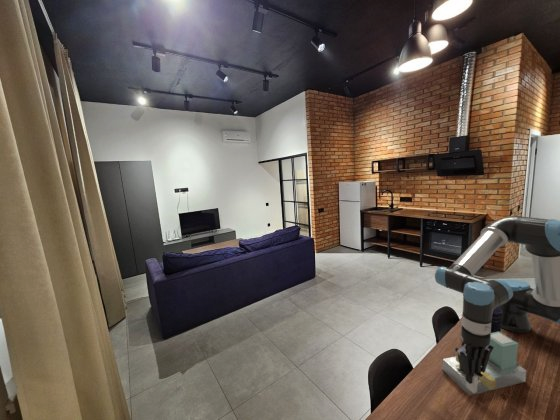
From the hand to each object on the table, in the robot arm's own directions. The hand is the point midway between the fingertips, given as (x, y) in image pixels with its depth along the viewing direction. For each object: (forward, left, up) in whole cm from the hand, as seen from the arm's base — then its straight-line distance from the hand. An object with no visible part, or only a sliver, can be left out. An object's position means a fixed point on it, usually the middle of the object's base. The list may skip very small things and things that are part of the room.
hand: (471, 389), depth 83 cm
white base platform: (-16, -9, -7) cm, 19 cm away
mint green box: (-23, -9, -2) cm, 25 cm away
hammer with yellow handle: (-7, -5, -1) cm, 9 cm away
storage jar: (-39, -27, -7) cm, 48 cm away
